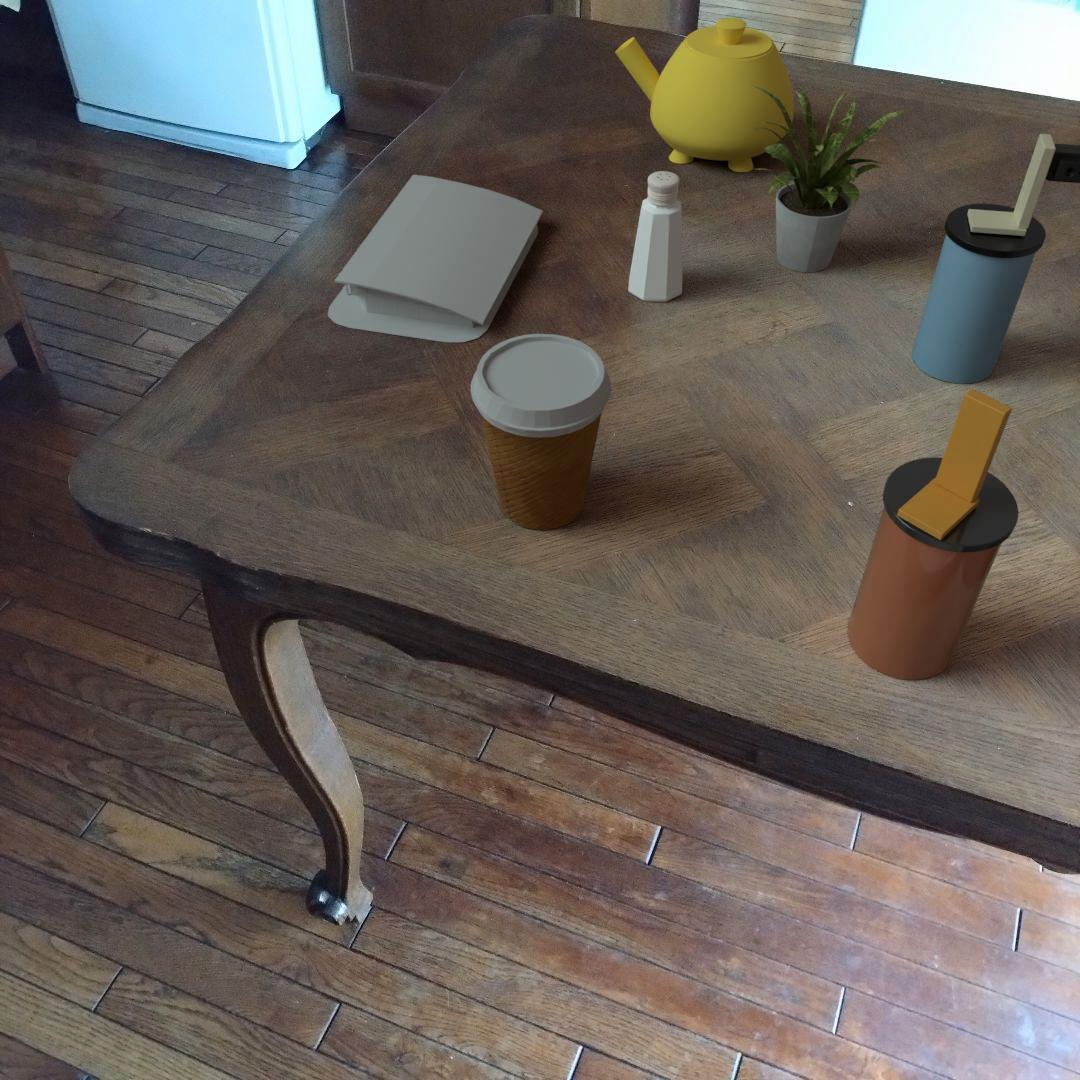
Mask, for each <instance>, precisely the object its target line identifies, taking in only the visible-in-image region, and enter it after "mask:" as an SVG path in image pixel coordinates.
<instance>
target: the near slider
mask: <svg viewBox="0 0 1080 1080" xmlns="http://www.w3.org/2000/svg"><path fill="white" fill-rule="evenodd" d="M1012 410H1013V407H1011V406H1010V405H1008V404H1005V403H1003V402H1001V401H1000V400H998V399H995V398H993V397H991V396H989V395H986V394H985V393H983V392H981V391H979V390H976V389H974V388H970V390H968V391H967V392H966V393H965V394H964V395H963V398H962V401H961V404H960V407H959V410H958V412H957V416H956V419H955V422H954V424H953V428H952V430H951V433H950V436H949V439H948V441H947V444H946V447H945V451H944V453H943V456H942V458H943V459H942V462H941V465H940V467H939V470H938V473H937V476H936V478H934V479H933V480H932V481H931V482H930V483H929V484H928V485H926V486H925V487H924V488H923V489H922V490H921V491H919V492H918V493H917V494H916V495H915V496H914V497H913V498H911V499H910V500H909V501H908V502H907V503H906V504H905V505H903V506H902V507H901V508H900V509H899V511H898V514H897V516H899V517H901V518H902V519H904V520H906V521H908V522H909V523H911V524H913V525H915V526H916V527H918V528H920V529H922V530H923V531H925V532H927V533H929V534H930V535H932V536H934V537H936V538H937V539H939V540H941V539H942V538H944V537H945V536H946V535H947V534H948V533H949V532H950V531H951V530H952V529H953V528H954V527H955V526H956V525H958V524H959V523H960V522H961V521H962V520H963V519H964V518H965V517H966V516H967V515H968V514H969V513H970V512H972V511H973V510H974V509H975V508H976V507H977V506H978V504H979V502H980V499H978V498H977V497H978V495H979V493H980V490H981V488H982V485H983V483H984V480H985V477H986V475H987V472H989V470H990V467H991V465H992V462H993V460H994V456H995V455H996V452H997V449H998V447H999V444H1000V441H1001V439H1002V436H1003V434H1004V431H1005V429H1006V426H1007V423H1008V421H1009V419H1010V416H1011V413H1012Z"/></svg>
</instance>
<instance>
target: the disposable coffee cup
mask: <svg viewBox="0 0 1080 1080" xmlns="http://www.w3.org/2000/svg"><path fill="white" fill-rule="evenodd" d="M476 367H477V368H476V371H475V372H474V373H473V375H472V379H471V382H470V396H471V399H472V402H473V403H474V405H475V407H476V409H477V410H478V412H479V413H480V417H481V420H482V421H481V422H482V425H483V430H484V435H485V439H486V445H487V450H488V453H489V458H490V462H491V467H492V471H493V476H494V480H495V485H496V489H497V493H498V499H499V504H500V508H501V511H502V512H503V514H504V515H505V517H506V518H507V519H508V520H510V521H511V522H512V523H514V524H516V525H518V526H520V527H522V528H527V529H530V530H539V531H541V530H553V529H558V528H561V527H563V526H566V525H568V524H570V523H571V522H573V521H574V520H575V519H577V517H579V515H580V514H581V512H582V511H583V509H584V506H585V501H586V500H585V499H586V494H587V489H588V483H589V478H590V473H591V469H592V463H593V458H594V453H595V449H596V443H597V439H598V433H599V428H600V423H601V417H602V414H603V411H604V409H605V407H606V405H607V404H608V402H609V401H610V396H611V394H612V383H611V378H610V375H609V373H608V371H607V370H606V368H605V366H604V362H603V359H602V358H601V357H600V356H599V354H598V352H596V351H595V350H594V349H593V348H591V347H590V346H589V345H588V344H586V343H584V342H582V341H580V340H578V339H575V338H572V337H569V336H565V335H560V334H553V333H552V334H550V333H529V334H523V335H518V336H513V337H511V338H508V339H506V340H503V341H501V342H499V343H496V344H495V345H493V346H492V347H491V348H490V349H488V350H487V351H486V352H485V353H484V354H483V355H482V357H481V358H480V360H479V362H478V364H477V366H476Z"/></svg>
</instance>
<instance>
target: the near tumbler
mask: <svg viewBox="0 0 1080 1080" xmlns="http://www.w3.org/2000/svg"><path fill="white" fill-rule="evenodd" d="M942 459H943V457H936V456H935V457H934V456H933V457H922V458H917V459H913V460H910V461H907V462H905V463H903V464H901V465H899V466H898V467H897V468H895V469H894V470H893V471H892V472H891V473H890V474H889V476H888V477H887V479H886V482H885V484H884V487H883V491H882V502H883V509H882V512H881V515H880V518H879V522H878V525H877V528H876V531H875V535H874V538H873V541H872V544H871V548H870V551H869V554H868V557H867V560H866V564H865V567H864V571H863V574H862V578H861V581H860V584H859V587H858V591H857V594H856V596H855V597H856V598H855V600H854V602H853V606H852V610H851V613H850V616H849V620H848V624H847V638H848V641H849V644H850V646H851V647H852V650H853V651H854V653H855V654H856V655H857V656H858V658H859V659H860V660H861V661H863V662H864V664H866V665H867V666H869V667H870V668H871V669H873V670H875V671H877V672H879V673H880V674H883V675H886V676H888V677H892V678H896V679H898V680H899V679H901V680H909V681H914V680H915V681H916V680H918V681H919V680H925V679H928V678H931V677H934V676H937V675H938V674H940V673H941V672H943V671H944V670H946V669H947V667H948V666H949V664H950V663H951V662H952V659H953V658H954V655H955V652H956V650H957V648H958V646H959V643H960V641H961V639H962V637H963V635H964V632H965V630H966V628H967V625H968V623H969V620H970V618H971V616H972V613H973V611H974V609H975V606H976V604H977V602H978V599H979V597H980V594H981V592H982V590H983V589H984V588H983V587H984V586H985V583H986V581H987V578H988V577H989V574H990V571H991V569H992V567H993V564H994V563H995V560H996V558H997V555H998V553H999V551H1000V548H1001V546H1002V544H1003V543H1004V542H1005V541H1006V540H1007V539H1009V537H1010V536H1011V535H1012V534H1013V532H1014V530H1015V528H1016V525H1017V523H1018V520H1019V507H1018V503H1017V500H1016V498H1015V496H1014V494H1013V493H1012V491H1011V490H1010V489H1009V488H1008V486H1007V485H1006V484H1005V483H1004V482H1003V481H1002V480H1001V479H999V478H998V477H997V476H995V475H994V474H992V472H990V471H988V472H987V475H986V477H985V480H984V483H983V485H982V488H981V490H980V493H979V495H978V497H977V498H978V499H980V502H979V504H978V506H977V507H976V508H975V509H974V510H973V511H972V512H970V513H969V514H968V515H967V516H966V517H965V518H964V519H963V520H962V521H961V522H960V523H959V524H958V525H956V526H955V527H954V528H953V529H952V530H951V531H950V532H949V533H948V534H947V535H946V536H945V537H944V538H942V539H941V540H939V539H937V538H936V537H934V536H932V535H930V534H929V533H927V532H925V531H923V530H922V529H920V528H918V527H916V526H915V525H913V524H911V523H909V522H908V521H906V520H904V519H902V518H901V517H899V516H897V514H898V511H899V509H900V508H901V507H902V506H903V505H905V504H906V503H907V502H908V501H909V500H910V499H911V498H913V497H914V496H915V495H916V494H917V493H918V492H919V491H921V490H922V489H923V488H924V487H925V486H926V485H928V484H929V483H930V482H931V481H932V480H933V479H934V478H936V476H937V473H938V470H939V467H940V465H941V462H942Z"/></svg>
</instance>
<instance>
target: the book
mask: <svg viewBox="0 0 1080 1080" xmlns="http://www.w3.org/2000/svg"><path fill="white" fill-rule="evenodd" d="M543 213H544V210H542V209H540V208H537V207H536V206H533V205H531V204H529V203H526V202H525V201H522V200H519V199H518V198H515V197H513V196H509V195H506V194H503V193H501V192H497V191H494V190H490V189H489V188H488V189H487V188H483V187H479V186H475V185H472V184H469V183H468V184H467V183H464V182H459V181H455V180H450V179H445V178H439V177H435V176H427V175H419V174H412V175H411V177H410V178H409V179H408V181H407V182H406V183H405V185H404V186H403V187H402V189H401V190H399V193H398V194H397V195H396V197H395V198H394V199H393V201H392V203H390V205H389V206H388V207H387V209H386V210H385V211H384V213H383V215H381V217H380V218H379V220H378V221H377V223H375V225H374V227H372V229H371V230H370V232H369V233H368V234H367V235H366V237H365V239H364V240H363V241H362V242H361V244H360V245H359V246H358V248H357V249H356V251H355V252H354V253H353V255H352V256H351V257H350V258H349V260H348V261H347V263H346V264H345V265H344V266H343V268H342V269H341V271H340V272H339V274H337V276H336V277H335V279H334V284H335V283H336V284H342V285H344V286H343V287H342V289H341V290H340V291H339V292H338V294H337V295H336V296H335V298H334V299H333V301H332V302H331V303H330V305H329V306H328V310H327V317H328V318H329V319H330V320H331V321H332V322H333V323H334V324H335V325H339V326H341V327H345V328H348V329H354V330H359V331H367V332H373V333H380V334H387V335H392V336H400V337H404V338H405V337H406V338H412V339H419V340H425V341H426V340H427V341H433V342H439V343H445V344H446V343H447V344H448V343H453V344H454V343H455V344H464V343H466V342H471V341H474V340H477V339H479V338H480V337H482V336H483V335H484V334H485V333H486V332H487V331H488V330H489V327H490V326H491V324H492V322H493V321H494V318H495V317H496V314H497V313H498V310H499V308H500V307H501V305H502V303H503V301H504V299H505V297H506V295H507V293H508V291H509V289H510V287H511V286H512V284H513V282H514V280H515V278H516V276H517V274H518V273H519V270H520V268H521V267H522V265H523V263H524V261H525V260H526V257H527V255H528V254H529V252H530V250H531V248H532V246H533V244H534V242H535V240H536V238H537V237H538V234H539V227H538V225H537V224H538V222H539V221H540V219H541V217H542V215H543Z"/></svg>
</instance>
